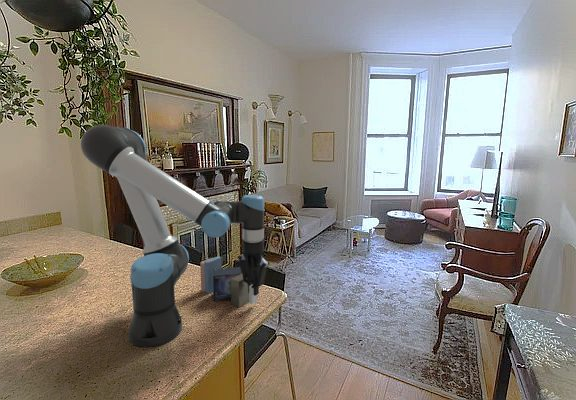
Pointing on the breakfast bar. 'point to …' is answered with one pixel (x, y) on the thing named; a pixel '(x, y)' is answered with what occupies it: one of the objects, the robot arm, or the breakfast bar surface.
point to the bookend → (239, 291)
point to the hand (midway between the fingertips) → (253, 302)
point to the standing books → (209, 273)
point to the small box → (223, 282)
